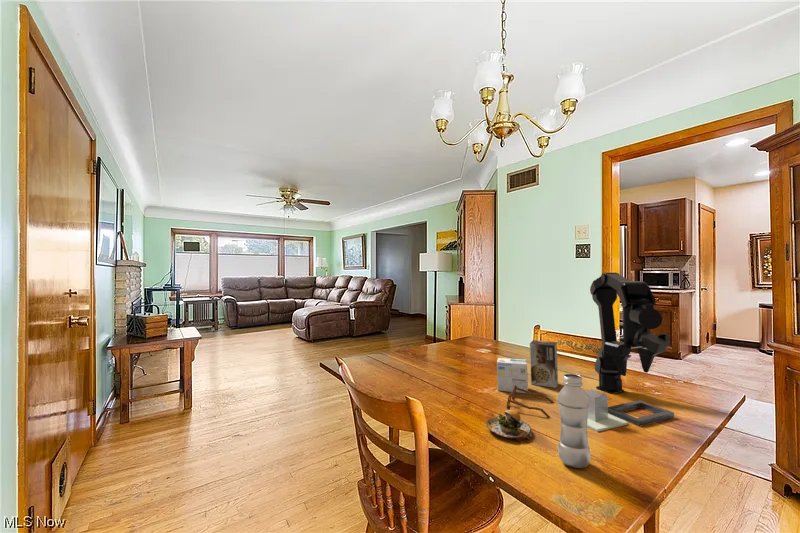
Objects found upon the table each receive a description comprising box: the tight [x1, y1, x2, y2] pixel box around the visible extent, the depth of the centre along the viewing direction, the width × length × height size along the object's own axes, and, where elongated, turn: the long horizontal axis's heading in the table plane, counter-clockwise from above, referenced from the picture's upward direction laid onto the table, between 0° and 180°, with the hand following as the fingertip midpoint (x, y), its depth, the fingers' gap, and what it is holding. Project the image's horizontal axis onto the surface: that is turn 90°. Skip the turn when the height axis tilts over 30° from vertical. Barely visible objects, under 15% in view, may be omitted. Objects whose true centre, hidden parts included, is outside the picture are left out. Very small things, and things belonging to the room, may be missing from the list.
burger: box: [486, 404, 533, 444], centre depth 91 cm, size 12×12×8 cm
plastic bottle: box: [557, 373, 592, 469], centre depth 75 cm, size 6×7×20 cm
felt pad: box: [587, 413, 629, 433], centre depth 98 cm, size 12×12×1 cm
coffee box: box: [529, 339, 559, 389], centre depth 128 cm, size 9×6×16 cm
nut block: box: [584, 389, 609, 422], centre depth 98 cm, size 5×5×7 cm
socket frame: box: [608, 399, 675, 427], centre depth 100 cm, size 10×15×2 cm, turn 110°
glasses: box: [506, 385, 555, 419], centre depth 107 cm, size 13×13×5 cm
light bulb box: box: [496, 357, 529, 394], centre depth 123 cm, size 11×7×11 cm, turn 71°
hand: (634, 374), depth 100 cm, fingers open, 9 cm apart
